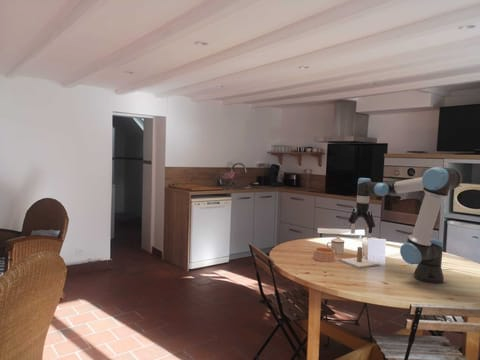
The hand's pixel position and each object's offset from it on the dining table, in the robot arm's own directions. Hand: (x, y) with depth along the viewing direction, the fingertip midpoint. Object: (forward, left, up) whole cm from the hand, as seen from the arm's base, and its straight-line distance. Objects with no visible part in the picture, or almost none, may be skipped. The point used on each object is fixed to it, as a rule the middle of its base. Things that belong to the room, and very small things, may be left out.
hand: (360, 235), depth 231 cm
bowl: (+15, +16, -18) cm, 28 cm away
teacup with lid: (+27, -4, -18) cm, 33 cm away
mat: (0, 0, -18) cm, 18 cm away
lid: (0, 0, -18) cm, 18 cm away
